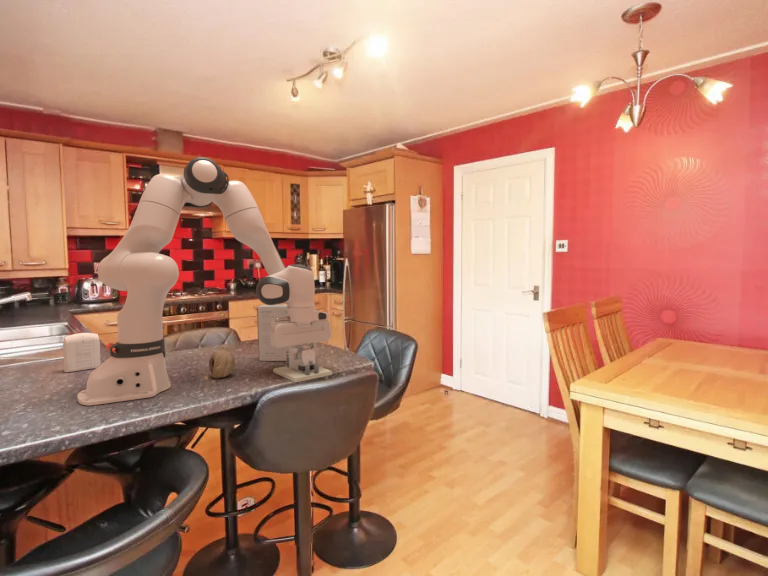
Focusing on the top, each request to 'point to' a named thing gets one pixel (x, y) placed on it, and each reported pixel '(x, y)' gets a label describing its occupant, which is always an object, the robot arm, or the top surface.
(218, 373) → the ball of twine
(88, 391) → the robot arm
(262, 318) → the hard drive box
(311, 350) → the block
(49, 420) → the top surface
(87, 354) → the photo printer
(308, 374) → the pin tray
